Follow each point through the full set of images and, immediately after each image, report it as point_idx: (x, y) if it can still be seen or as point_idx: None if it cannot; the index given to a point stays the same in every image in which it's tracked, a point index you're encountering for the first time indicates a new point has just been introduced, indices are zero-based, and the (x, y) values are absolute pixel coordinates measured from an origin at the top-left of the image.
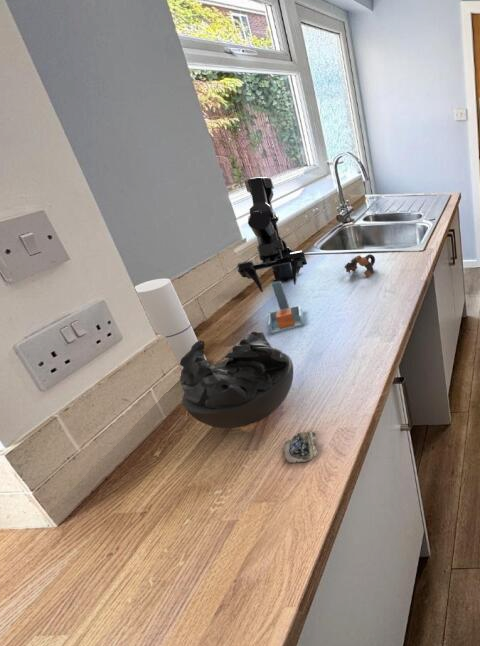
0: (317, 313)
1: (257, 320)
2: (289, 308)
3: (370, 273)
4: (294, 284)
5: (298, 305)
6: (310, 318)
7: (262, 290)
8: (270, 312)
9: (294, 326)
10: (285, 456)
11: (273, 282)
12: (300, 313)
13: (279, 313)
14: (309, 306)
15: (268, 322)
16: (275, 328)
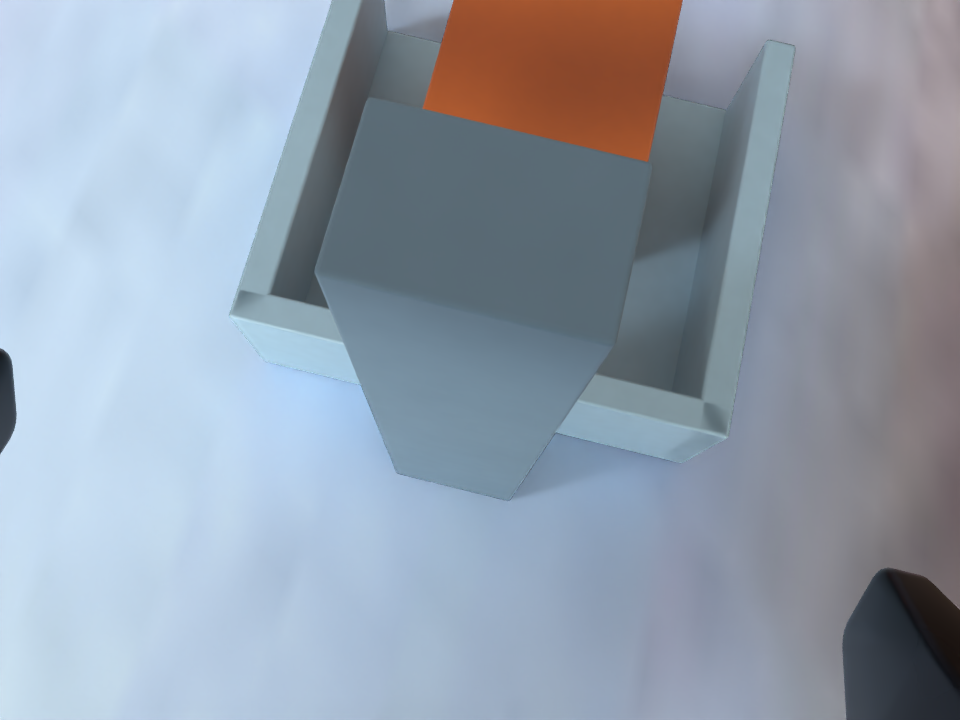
0: (114, 206)
1: None
2: None
3: None
4: (14, 398)
5: (258, 315)
6: (241, 141)
7: (876, 589)
8: (699, 415)
9: None
10: None
11: (566, 310)
12: (333, 16)
13: (610, 86)
14: (101, 524)
15: (778, 98)
16: (682, 165)
